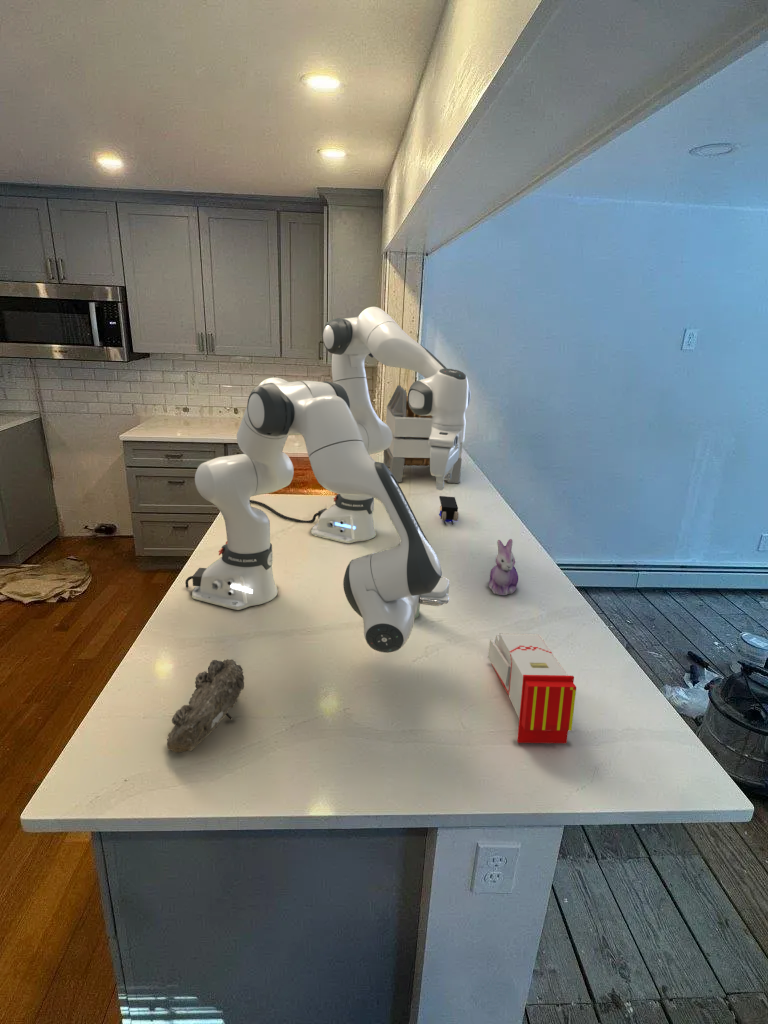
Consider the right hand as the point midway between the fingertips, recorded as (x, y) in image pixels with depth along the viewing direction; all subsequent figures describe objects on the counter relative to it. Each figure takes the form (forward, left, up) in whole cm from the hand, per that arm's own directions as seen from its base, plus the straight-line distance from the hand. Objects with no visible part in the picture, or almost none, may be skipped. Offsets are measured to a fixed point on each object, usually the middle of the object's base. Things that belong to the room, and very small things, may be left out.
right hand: (443, 484), depth 153 cm
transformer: (-30, +115, -31) cm, 123 cm away
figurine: (+19, +5, -31) cm, 36 cm away
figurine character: (-6, +55, -31) cm, 64 cm away
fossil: (-30, -69, -31) cm, 81 cm away
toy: (+27, -43, -31) cm, 59 cm away
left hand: (-2, -30, -12) cm, 32 cm away
